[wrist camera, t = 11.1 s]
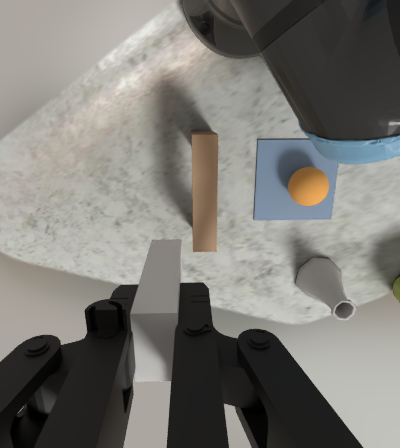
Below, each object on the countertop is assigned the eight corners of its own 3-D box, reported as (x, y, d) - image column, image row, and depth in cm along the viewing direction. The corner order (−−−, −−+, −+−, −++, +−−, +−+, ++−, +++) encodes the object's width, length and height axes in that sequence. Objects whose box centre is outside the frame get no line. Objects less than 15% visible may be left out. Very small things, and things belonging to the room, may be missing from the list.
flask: (287, 285, 54) (308, 321, 45) (310, 249, 53) (337, 278, 43) (323, 302, 56) (351, 340, 46) (347, 267, 54) (381, 299, 44)
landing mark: (257, 139, 47) (258, 139, 47) (340, 139, 47) (341, 139, 47) (253, 219, 51) (254, 220, 50) (330, 218, 51) (331, 219, 51)
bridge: (192, 228, 51) (193, 251, 42) (191, 131, 46) (191, 134, 37) (211, 228, 51) (216, 251, 42) (212, 131, 46) (217, 134, 37)
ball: (323, 164, 48) (285, 164, 48) (337, 169, 43) (295, 169, 43) (319, 200, 50) (282, 200, 50) (332, 210, 45) (292, 210, 45)
